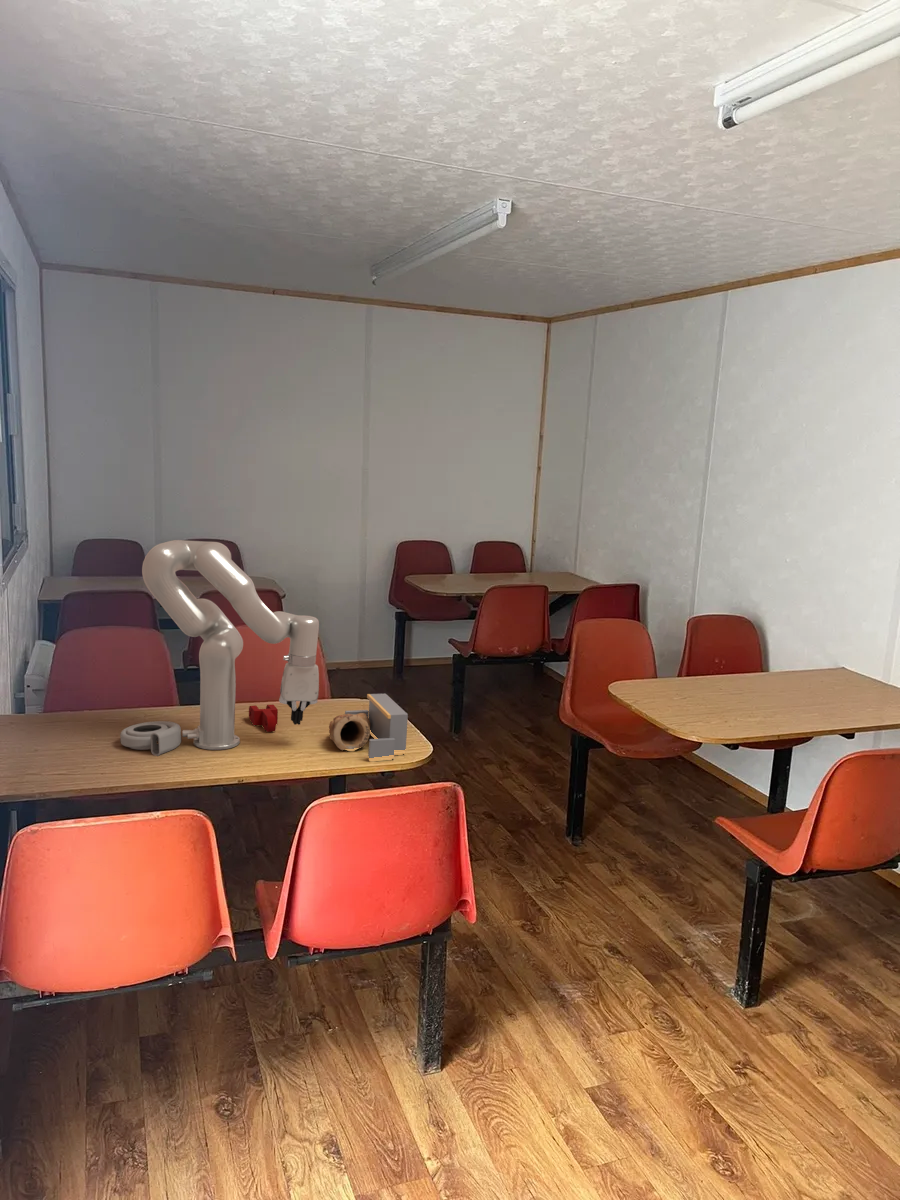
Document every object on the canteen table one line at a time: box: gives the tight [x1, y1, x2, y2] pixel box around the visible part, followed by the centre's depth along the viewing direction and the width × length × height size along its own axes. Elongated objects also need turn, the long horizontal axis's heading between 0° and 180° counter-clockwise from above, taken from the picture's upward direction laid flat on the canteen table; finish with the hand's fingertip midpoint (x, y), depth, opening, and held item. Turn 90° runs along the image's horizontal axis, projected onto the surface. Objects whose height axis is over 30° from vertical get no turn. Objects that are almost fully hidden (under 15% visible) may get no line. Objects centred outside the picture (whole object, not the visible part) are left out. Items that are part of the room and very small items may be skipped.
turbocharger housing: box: [119, 720, 182, 757], centre depth 241 cm, size 17×6×15 cm
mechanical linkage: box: [248, 704, 279, 733], centre depth 265 cm, size 16×7×5 cm, turn 24°
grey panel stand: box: [344, 693, 409, 758], centre depth 253 cm, size 12×29×12 cm, turn 21°
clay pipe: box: [328, 713, 371, 751], centre depth 253 cm, size 19×11×15 cm
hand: (296, 723), depth 245 cm, fingers closed
